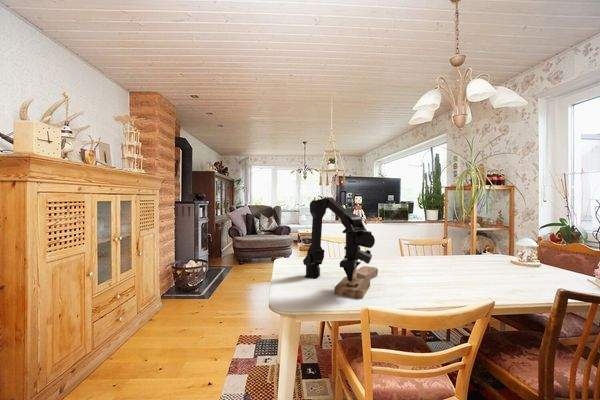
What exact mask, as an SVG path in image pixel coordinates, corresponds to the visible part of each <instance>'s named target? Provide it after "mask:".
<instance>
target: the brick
mask: <svg viewBox="0 0 600 400" xmlns="http://www.w3.org/2000/svg"><path fill="white" fill-rule="evenodd" d="M378 273H379V268H378V267H375V266H368V265H362V266H360V267H358V268H357V269H356V278H361V279H368V280H370V281H371V280H372V279H374V278H376V277H377V276H378Z"/></svg>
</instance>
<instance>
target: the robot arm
mask: <svg viewBox="0 0 600 400" xmlns="http://www.w3.org/2000/svg"><path fill="white" fill-rule="evenodd" d="M327 209H329V210H330V211H332V213H333V214H335V215H336V216H337V217H338V218H339V219H340V222H341V224H342V225H343V227H344V229H343V230H342V234H345V246H344V251H345V255H344V257H343V259H342V260H340V262H339V268H343V270H344V273H345V275H346V277H347V278H348V280H349V281H352V277H353V272H354V269H355V268H356V269H358V266H359V265H360V264H361V263H362V262H364V263H365V264H367V265H368V264H370V262H371V260H372V257H373V255H372V253H371V252H372V250H369V249H371V248H373V247H374V245H375V244H376V242H375V241H376V240H375V236H374V235H373V234H372V231H371V230H367V229H366V227H365V225H364V223H363V220H362V218H361V216H359V215H358V214H356V213H353V212H351V211H348V210H347V209H346V208H345V207H343V206H342V205H341V203H339V202H338V201H336V199H335V198H334V197H332V196H329V197H328V196H325V197H323V198H320V199H316V200H315V199H314V200H311V201H310V202H309V212H310V215H311V217H312V221H311V239H310V241H311V242H310V246H309V247H308V249H307V252H306V256H305V257H304V259H303V260H302V263H303V265H304V266H305V275H304V278H310V279H318V278H320V276H321V267H320V265H322V264H323V261H324V258H325V253H326V252H325V249H323V248H322V245H321V244H322V232H323V231H322V230H323V229H322V228H323V218H324V216H325V215H326V214H327V213H326V212H327ZM361 247H363V248H368V249H367V250H361ZM359 260H360V261H359Z"/></svg>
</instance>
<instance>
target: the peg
mask: <svg viewBox="0 0 600 400" xmlns="http://www.w3.org/2000/svg"><path fill="white" fill-rule="evenodd" d="M347 280H348V278H347ZM355 283H356V268H355V269H354V272H353V277H352V281H349V280H348V285H350V286H354V285H355Z"/></svg>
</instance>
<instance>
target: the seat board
mask: <svg viewBox="0 0 600 400" xmlns="http://www.w3.org/2000/svg"><path fill="white" fill-rule="evenodd" d="M370 287H371V279H370V280H368V279H361V278H356V283H355V285H354V286H350V285H348V280H347V276H344V277H343V278H342V279H341V280H340V281H339V282H338V283H337V284H336V285H335V286H334V288H333V289H334V293H333V294H334V295H338V296H344V297H351V298H358V299H362V300H363V298H364V297H365V295H366V294H367V292H368V290H369V289H370Z"/></svg>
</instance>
